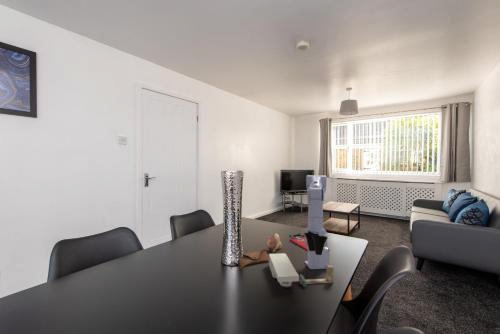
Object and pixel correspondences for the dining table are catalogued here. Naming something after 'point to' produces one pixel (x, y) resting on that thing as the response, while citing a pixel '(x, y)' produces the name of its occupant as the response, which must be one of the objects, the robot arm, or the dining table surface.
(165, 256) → the dining table surface
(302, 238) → the red board with handle
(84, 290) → the dining table surface
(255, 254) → the sunglasses case
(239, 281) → the dining table surface
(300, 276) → the wood scraper
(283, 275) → the cream cabinet
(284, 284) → the steel puck
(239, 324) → the dining table surface
